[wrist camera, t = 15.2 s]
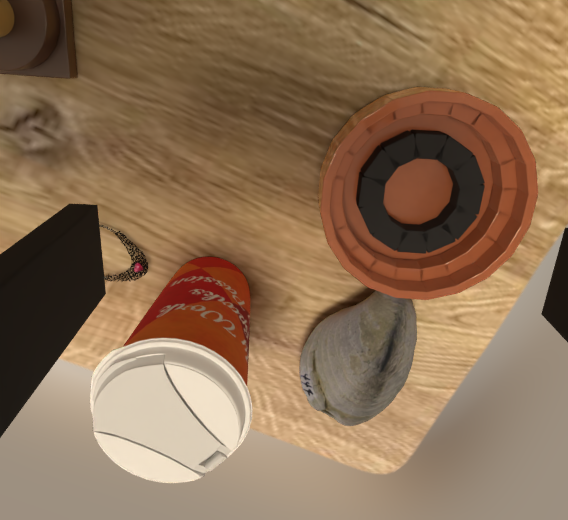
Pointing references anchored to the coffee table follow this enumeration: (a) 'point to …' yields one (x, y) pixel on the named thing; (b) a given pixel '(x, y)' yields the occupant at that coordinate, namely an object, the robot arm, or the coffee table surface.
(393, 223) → the ring
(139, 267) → the necklace
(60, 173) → the coffee table surface
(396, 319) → the seashell
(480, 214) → the bowl
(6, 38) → the ring stand
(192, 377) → the coffee cup
